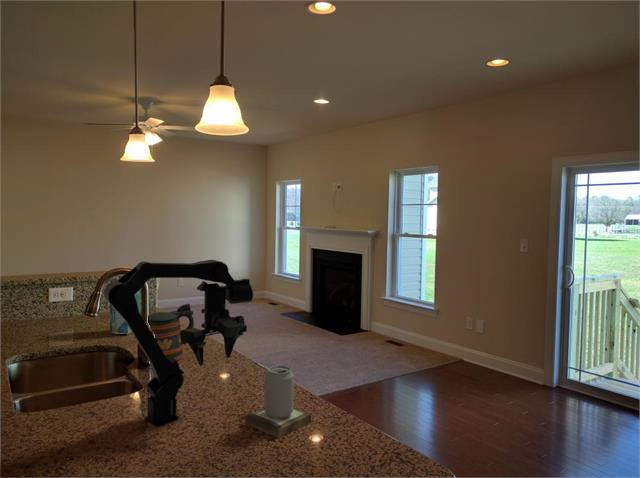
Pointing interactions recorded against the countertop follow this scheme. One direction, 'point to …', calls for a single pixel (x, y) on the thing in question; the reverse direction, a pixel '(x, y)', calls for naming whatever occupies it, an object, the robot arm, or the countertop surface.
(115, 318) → the milk carton
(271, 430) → the grey flat square slab
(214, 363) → the countertop surface
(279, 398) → the can
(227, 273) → the robot arm
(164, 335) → the beer stein
